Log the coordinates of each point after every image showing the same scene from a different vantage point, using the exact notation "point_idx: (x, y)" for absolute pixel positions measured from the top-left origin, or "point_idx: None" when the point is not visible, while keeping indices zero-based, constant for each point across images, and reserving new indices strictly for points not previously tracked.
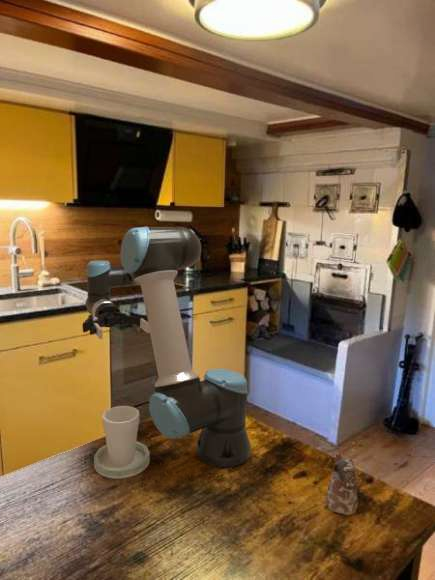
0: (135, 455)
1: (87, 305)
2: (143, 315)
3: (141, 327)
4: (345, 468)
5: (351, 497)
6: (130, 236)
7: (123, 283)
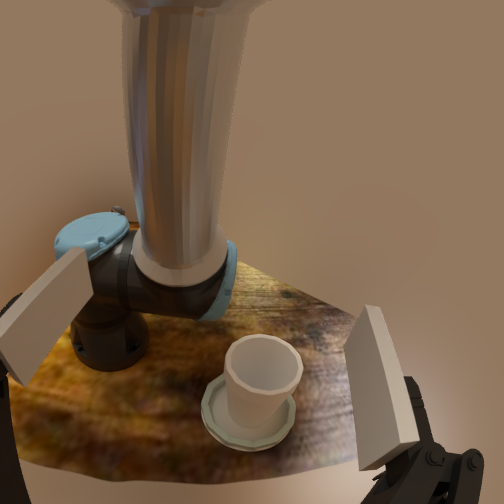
0: (223, 407)
1: None
2: None
3: (36, 362)
4: (123, 209)
5: None
6: None
7: None
